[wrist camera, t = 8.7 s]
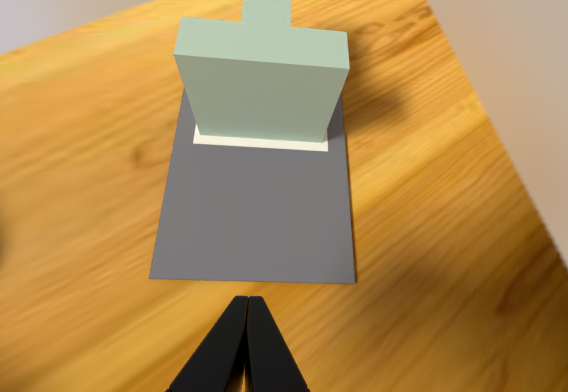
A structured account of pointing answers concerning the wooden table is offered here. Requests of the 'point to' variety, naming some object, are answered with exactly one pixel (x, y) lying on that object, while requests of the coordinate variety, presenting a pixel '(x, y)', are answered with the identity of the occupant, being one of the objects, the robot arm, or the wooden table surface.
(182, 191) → the mat
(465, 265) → the wooden table surface
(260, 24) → the t block
